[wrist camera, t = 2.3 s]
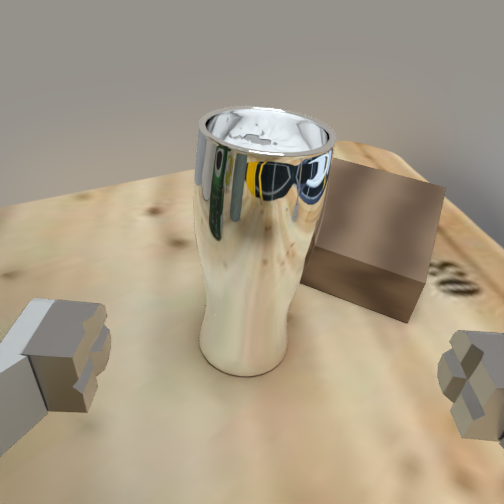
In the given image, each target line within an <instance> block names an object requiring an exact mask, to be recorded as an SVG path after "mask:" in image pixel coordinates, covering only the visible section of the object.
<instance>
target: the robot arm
mask: <svg viewBox="0 0 504 504" xmlns="http://www.w3.org/2000/svg"><path fill="white" fill-rule="evenodd" d="M106 318H107V313H106V309H105V305H103V304H98V303H88V302H78V301H67V300H52V299H43V298H35V299H33V300H32V301H30V302H29V303H28V305H27V306H26V307H25V309H24V310H23V312H22V313H21V314H20V316H19V317H18V319H17V320H16V321H15V323H14V324H13V326H12V327H11V329H10V330H9V331H8V333H7V334H6V336H5V337H4V338H3V340H2V341H1V343H0V457H1V456H2V455H3V454H4V453H5V452H6V451H7V450H8V449H9V448H11V447H12V446H13V445H14V444H15V443H16V442H17V441H18V440H19V439H20V438H22V437H23V436H24V435H25V434H26V433H27V432H28V431H29V430H30V429H31V428H33V427H34V426H35V425H36V424H37V423H38V422H39V421H40V420H41V419H42V418H44V417H45V416H46V415H47V414H48V412H47V411H54V412H79V413H88V410H89V408H90V405H91V403H92V400H93V398H94V395H95V393H96V390H97V388H98V385H97V380H96V376H97V375H99V374H100V373H101V372H103V371H104V370H105V367H106V365H107V362H108V359H109V354H110V349H111V335H110V330H109V329H108V328H107V327H106V326H105V325H104V323H105V320H106ZM449 342H450V344H451V346H452V349H450V350H449V351H447V352H445V353H444V354H442V357H441V359H440V361H439V363H438V373H437V376H438V381H439V385H440V388H441V390H442V393H443V394H444V395H445V396H446V397H447V398H448V399H449V400H450V401H452V402H453V404H452V407H451V410H450V412H451V414H452V417H453V419H454V421H455V424H456V426H457V428H458V431H459V433H460V435H461V438H466V439H477V440H487V441H498V442H500V443H499V444H500V445H501V446H502V447H503V448H504V333H496V332H480V331H465V330H458V331H457V332H455V333H454V334H453V336H452V338H451V339H450V341H449Z"/></svg>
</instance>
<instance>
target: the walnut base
mask: <svg viewBox="0 0 504 504" xmlns="http://www.w3.org/2000/svg"><path fill="white" fill-rule="evenodd" d="M445 191H446V188H445V187H442V186H438V185H434V184H431V183H427V182H423V181H419V180H416V179H412V178H408V177H404V176H400V175H397V174H393V173H389V172H385V171H382V170H378V169H374V168H370V167H367V166H363V165H359V164H355V163H352V162H348V161H344V160H340V159H337V158H333V161H332V169H331V177H330V184H329V191H328V197H327V202H326V207H325V213H324V217H323V221H322V225H321V229H320V232H319V236H318V240H317V242H316V245H315V248H314V250H313V253H312V256H311V258H310V261H309V263H308V265H307V267H306V270H305V272H304V274H303V276H302V279H301V281H300V283H302V284H305V285H307V286H310V287H313V288H315V289H318V290H321V291H323V292H326V293H329V294H331V295H334V296H337V297H339V298H342V299H344V300H347V301H350V302H352V303H355V304H358V305H360V306H363V307H366V308H368V309H371V310H374V311H376V312H379V313H382V314H384V315H387V316H390V317H392V318H395V319H397V320H400V321H403V322H405V323H408V321H409V319H410V316H411V314H412V312H413V310H414V308H415V305H416V303H417V301H418V299H419V296H420V294H421V292H422V290H423V288H424V285H425V283H426V278H427V274H428V269H429V265H430V260H431V255H432V251H433V246H434V242H435V237H436V232H437V228H438V223H439V219H440V214H441V209H442V205H443V200H444V196H445Z"/></svg>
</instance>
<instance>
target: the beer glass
mask: <svg viewBox="0 0 504 504" xmlns="http://www.w3.org/2000/svg"><path fill="white" fill-rule="evenodd" d="M198 126H199V134H198V145H197V154H196V164H195V176H194V197H193V208H194V228H195V236H196V243H197V250H198V255H199V260H200V265H201V270H202V275H203V280H204V285H205V291H206V305H205V306H206V310H205V315H204V318H203V322H202V325H201V329H200V334H199V344H200V348H201V351H202V353H203V355H204V357H205V358H206V359H207V360H208V362H209V363H210V364H212V365H213V366H214V367H216V368H217V369H219V370H221V371H223V372H225V373H228V374H231V375H236V376H256V375H260V374H263V373H266V372H268V371H270V370H272V369H273V368H275V367H276V366H277V365H278V364H279V363H280V362H281V361H282V359H283V357H284V356H285V353H286V350H287V345H288V333H287V316H288V310H289V307H290V303H291V301H292V298H293V296H294V294H295V291H296V289H297V287H298V285H299V283H300V281H301V279H302V276H303V274H304V272H305V270H306V267H307V265H308V263H309V261H310V258H311V256H312V253H313V250H314V248H315V245H316V242H317V240H318V236H319V232H320V229H321V225H322V221H323V217H324V213H325V207H326V202H327V197H328V191H329V184H330V177H331V169H332V161H333V153H334V147H335V143H336V134H335V132H334V131H333V130H332V129H331V128H330V127H329V126H328V125H326V124H325V123H323V122H322V121H320V120H318V119H315V118H313V117H311V116H308V115H305V114H302V113H298V112H294V111H290V110H285V109H279V108H272V107H262V106H235V107H227V108H221V109H217V110H214V111H211V112H209V113H207V114H205V115H204V116H203V117H202V118H201V119H200V121H199V124H198Z"/></svg>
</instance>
